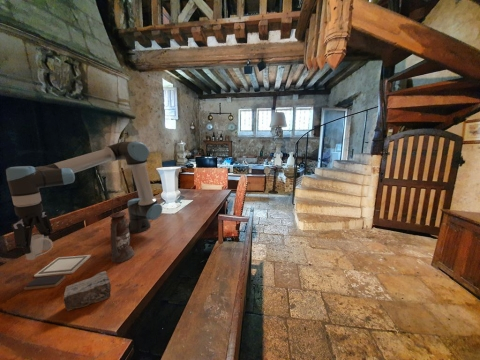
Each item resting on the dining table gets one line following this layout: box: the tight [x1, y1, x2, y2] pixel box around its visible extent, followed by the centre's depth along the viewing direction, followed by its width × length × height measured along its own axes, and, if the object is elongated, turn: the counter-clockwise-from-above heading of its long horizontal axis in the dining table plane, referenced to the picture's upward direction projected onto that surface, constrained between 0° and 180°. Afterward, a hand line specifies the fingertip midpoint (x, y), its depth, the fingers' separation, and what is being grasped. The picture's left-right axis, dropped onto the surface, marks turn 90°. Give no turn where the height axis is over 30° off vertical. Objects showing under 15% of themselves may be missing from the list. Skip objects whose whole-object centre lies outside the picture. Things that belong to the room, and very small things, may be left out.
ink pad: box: [23, 274, 67, 291], centre depth 81 cm, size 12×6×2 cm, turn 100°
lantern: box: [109, 195, 135, 263], centre depth 98 cm, size 11×16×35 cm
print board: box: [33, 254, 92, 278], centre depth 93 cm, size 16×14×1 cm
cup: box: [31, 233, 54, 258], centre depth 78 cm, size 7×10×8 cm
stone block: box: [62, 270, 112, 312], centre depth 73 cm, size 14×9×8 cm, turn 127°
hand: (39, 254), depth 78 cm, fingers closed on cup, 6 cm apart
